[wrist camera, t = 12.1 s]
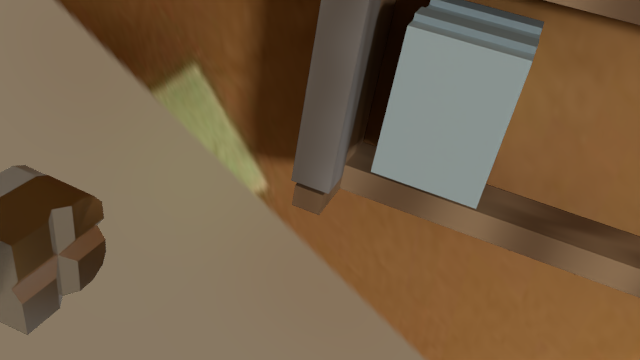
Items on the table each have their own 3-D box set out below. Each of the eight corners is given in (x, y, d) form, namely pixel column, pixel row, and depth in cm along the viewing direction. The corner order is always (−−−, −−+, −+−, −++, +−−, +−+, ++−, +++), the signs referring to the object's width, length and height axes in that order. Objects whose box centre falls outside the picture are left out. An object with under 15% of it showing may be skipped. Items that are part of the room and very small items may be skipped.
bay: (995, 55, 22) (1111, 114, 17) (781, 313, 29) (820, 406, 24) (380, -92, 27) (334, -80, 23) (330, 154, 35) (287, 203, 30)
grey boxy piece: (545, 17, 27) (535, 53, 22) (492, 157, 31) (474, 214, 26) (440, -11, 28) (409, 17, 23) (402, 128, 32) (369, 176, 27)
